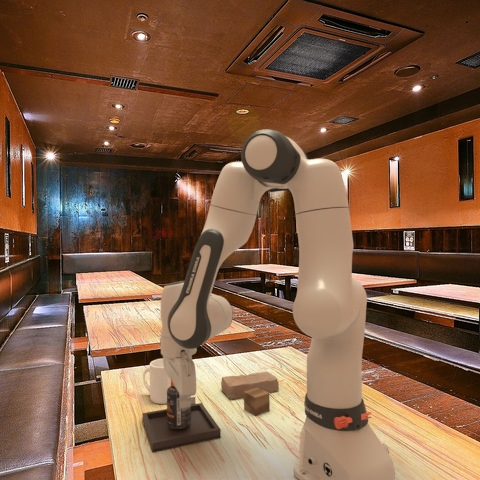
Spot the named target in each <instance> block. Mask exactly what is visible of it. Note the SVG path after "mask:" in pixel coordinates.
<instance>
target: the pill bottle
mask: <svg viewBox="0 0 480 480" xmlns="http://www.w3.org/2000/svg"><path fill="white" fill-rule="evenodd" d="M178 399H179V392H178V391H177V389H176V388H175V386H174V384H173V381H172V380H171V386H170V387H169V388H168V390H167V404H166V409H167V425H168V426H169V427H171V428H174V429H181V428H185V427H187V426H188V425H190V423H191V396H188V399H187V407H186V408H180V407H179V405H178V403H179V402H178Z"/></svg>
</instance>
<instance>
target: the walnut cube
mask: <svg viewBox="0 0 480 480" xmlns="http://www.w3.org/2000/svg"><path fill="white" fill-rule="evenodd" d="M270 401H271V400H270V393H268V392H266V391H264V390H262V389H260V388H254V389H251V390H248V391H245V392H244V398H243V410H244V411H246V412H248V413H249V414H251V415H253V416H255V417H257V416H260V415H262V414H265V413H268V412H270V409H271V407H270V405H271V404H270Z"/></svg>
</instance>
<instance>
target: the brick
mask: <svg viewBox="0 0 480 480" xmlns="http://www.w3.org/2000/svg"><path fill="white" fill-rule="evenodd" d="M220 383H221V384H220V386H221V387H220V389H221V390H222V393H224V394H225V396H226V397H228V398H229V399H230V400H239V399H244V392H245V391H248V390H251V389H254V388H260V389H262V390H264V391H266V392H268V393H269V394H270V393H275V392H279V387H280V386H279V381H278V378H277V377H276V376H275V375H274V374H273V373H270V372H269V371H266V370H265V371H262V372H261V371H260V372H253V373H249V374H247V375H246V374H245V375H244V374H240V375H230V376H222V377H221V382H220Z"/></svg>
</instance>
